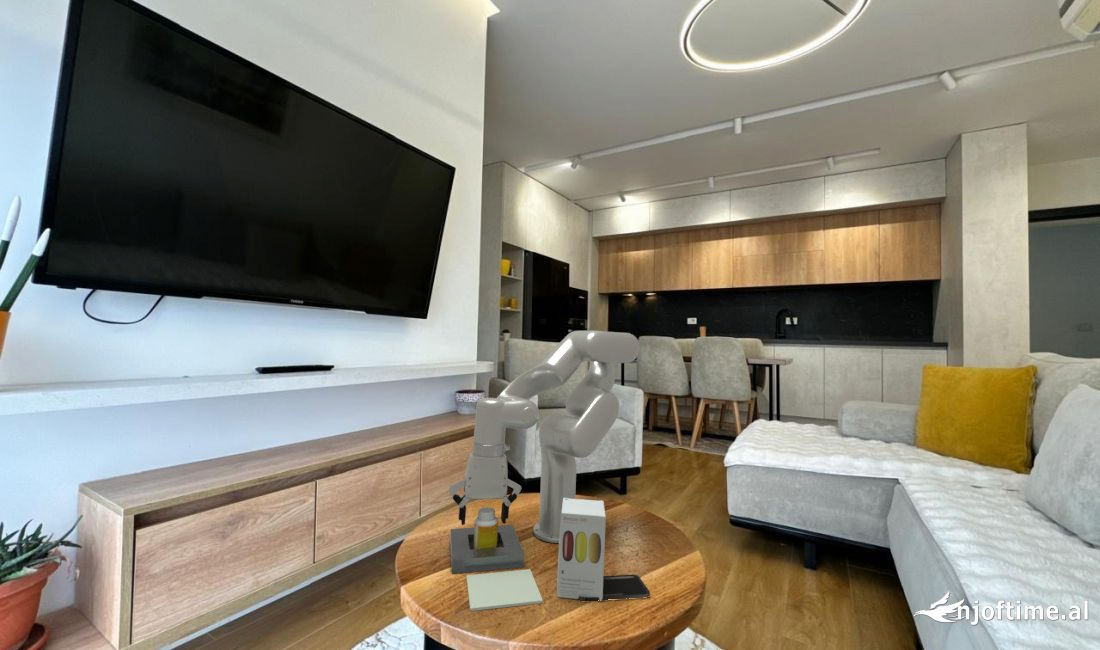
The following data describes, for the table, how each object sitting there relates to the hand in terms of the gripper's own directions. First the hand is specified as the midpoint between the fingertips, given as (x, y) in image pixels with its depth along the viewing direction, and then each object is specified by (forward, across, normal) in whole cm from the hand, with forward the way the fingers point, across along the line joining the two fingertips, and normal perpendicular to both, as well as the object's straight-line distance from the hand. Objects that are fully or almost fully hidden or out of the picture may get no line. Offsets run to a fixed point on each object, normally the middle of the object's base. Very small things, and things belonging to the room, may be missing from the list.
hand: (483, 522), depth 103 cm
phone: (+8, -25, +20) cm, 33 cm away
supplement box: (+7, -19, +18) cm, 27 cm away
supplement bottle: (+8, -1, 0) cm, 8 cm away
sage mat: (+8, -3, +16) cm, 18 cm away
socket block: (+7, -1, 0) cm, 8 cm away
